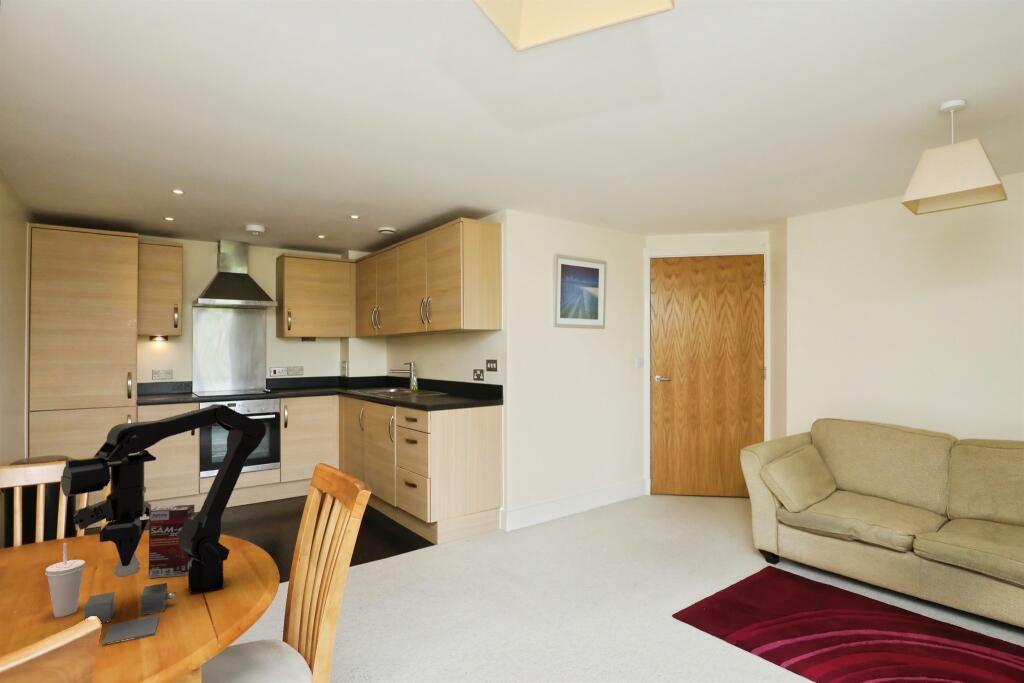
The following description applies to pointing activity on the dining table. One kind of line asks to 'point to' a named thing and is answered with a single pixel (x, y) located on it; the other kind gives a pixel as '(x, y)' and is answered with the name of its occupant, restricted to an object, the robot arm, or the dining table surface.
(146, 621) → the mat
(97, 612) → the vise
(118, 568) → the rook chess piece
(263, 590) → the dining table surface
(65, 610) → the smoothie
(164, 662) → the dining table surface
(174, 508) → the supplement box
